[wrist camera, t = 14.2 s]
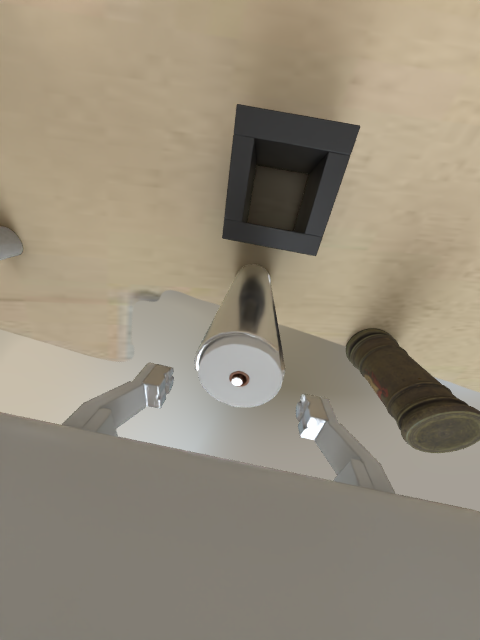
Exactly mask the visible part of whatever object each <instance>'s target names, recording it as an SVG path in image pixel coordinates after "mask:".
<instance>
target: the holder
mask: <svg viewBox="0 0 480 640" xmlns="http://www.w3.org/2000/svg"><path fill="white" fill-rule="evenodd" d="M359 129H360V126H359V125H354V124H348V123H342V122H336V121H331V120H325V119H319V118H314V117H308V116H302V115H297V114H291V113H285V112H279V111H274V110H268V109H262V108H257V107H251V106H245V105H240V104H237V108H236V117H235V126H234V135H233V144H232V153H231V162H230V171H229V180H228V189H227V199H226V208H225V217H224V226H223V235H222V238H223V239H228V240H234V241H239V242H244V243H249V244H255V245H260V246H265V247H271V248H276V249H281V250H286V251H292V252H297V253H302V254H308V255H313V256H316V255H317V252H318V249H319V246H320V243H321V240H322V237H323V234H324V231H325V228H326V225H327V222H328V219H329V217H330V214H331V211H332V208H333V205H334V202H335V199H336V196H337V193H338V190H339V187H340V184H341V182H342V179H343V176H344V173H345V170H346V167H347V164H348V161H349V158H350V155H351V152H352V149H353V146H354V144H355V141H356V138H357V135H358V132H359ZM257 165H261V166H266V167H272V168H277V169H283V170H288V171H294V172H299V173H305V174H309V175H308V179H307V183H306V186H305V190H304V194H303V197H302V201H301V205H300V208H299V212H298V216H297V219H296V223H295V227H294V230H293V231H287V230H282V229H277V228H271V227H266V226H261V225H255V224H250V223H247V222H248V216H249V210H250V203H251V197H252V191H253V185H254V179H255V173H256V167H257Z"/></svg>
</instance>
